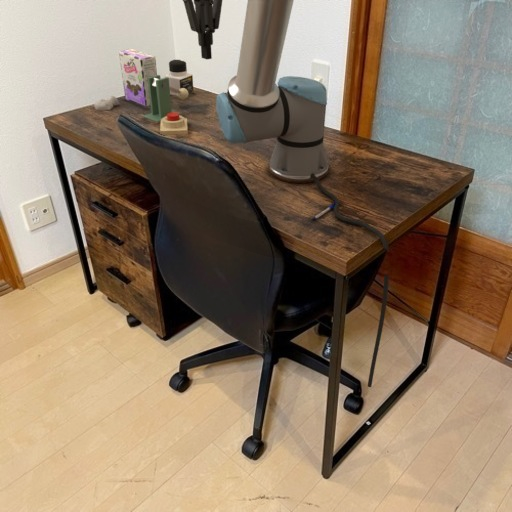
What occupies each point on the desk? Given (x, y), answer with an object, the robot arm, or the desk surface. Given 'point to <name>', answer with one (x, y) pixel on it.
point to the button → (173, 116)
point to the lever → (181, 92)
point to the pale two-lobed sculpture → (106, 104)
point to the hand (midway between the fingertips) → (206, 58)
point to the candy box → (137, 74)
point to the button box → (173, 126)
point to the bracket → (159, 98)
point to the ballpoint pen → (324, 211)
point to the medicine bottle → (179, 76)
